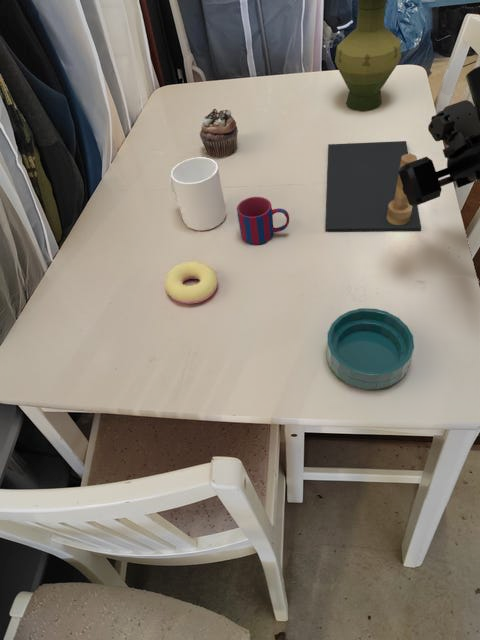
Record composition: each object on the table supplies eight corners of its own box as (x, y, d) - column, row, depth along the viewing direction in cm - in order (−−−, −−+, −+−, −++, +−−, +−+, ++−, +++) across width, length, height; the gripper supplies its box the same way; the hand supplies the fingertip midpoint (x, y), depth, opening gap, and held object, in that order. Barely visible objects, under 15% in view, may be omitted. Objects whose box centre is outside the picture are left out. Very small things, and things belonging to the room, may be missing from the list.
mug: (220, 233, 92) (210, 184, 83) (167, 230, 95) (152, 182, 86) (231, 206, 98) (223, 157, 89) (181, 203, 101) (168, 156, 92)
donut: (193, 273, 88) (158, 297, 83) (187, 253, 86) (151, 277, 81) (229, 286, 83) (195, 313, 78) (225, 265, 80) (189, 291, 75)
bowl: (404, 327, 71) (409, 309, 68) (412, 394, 63) (418, 377, 60) (327, 325, 73) (328, 307, 70) (325, 388, 66) (326, 372, 62)
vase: (323, 99, 125) (325, -34, 102) (375, 84, 126) (389, -50, 103) (350, 123, 114) (359, -19, 91) (406, 107, 116) (429, -36, 93)
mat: (405, 144, 105) (406, 140, 104) (420, 231, 85) (421, 227, 84) (328, 147, 108) (328, 144, 108) (325, 231, 88) (325, 228, 88)
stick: (408, 211, 88) (421, 150, 78) (411, 225, 85) (423, 164, 75) (385, 211, 89) (394, 151, 79) (387, 225, 86) (396, 165, 76)
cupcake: (242, 139, 116) (237, 100, 108) (236, 159, 110) (231, 119, 102) (207, 140, 118) (199, 102, 110) (199, 160, 112) (191, 122, 104)
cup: (246, 222, 93) (243, 195, 88) (293, 227, 90) (292, 199, 85) (236, 243, 89) (232, 215, 84) (284, 249, 86) (283, 221, 81)
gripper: (534, 72, 60) (458, 119, 76) (418, 112, 57) (363, 153, 73) (558, 150, 61) (478, 181, 77) (445, 194, 58) (385, 217, 74)
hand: (427, 181), depth 75 cm, fingers open, 9 cm apart
